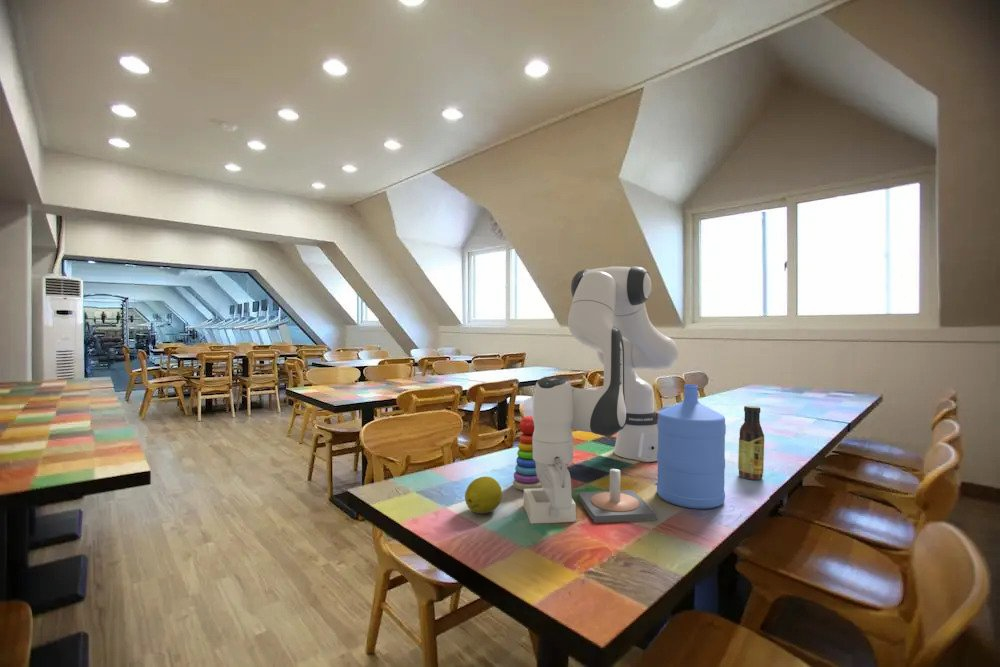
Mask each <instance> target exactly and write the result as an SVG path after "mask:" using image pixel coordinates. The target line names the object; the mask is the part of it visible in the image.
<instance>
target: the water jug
mask: <svg viewBox="0 0 1000 667" xmlns="http://www.w3.org/2000/svg"><path fill="white" fill-rule="evenodd" d="M683 386H684V392H683V394H684V399H683V401H682V402H678V403H677V404H674V405H672V406H669V407H666V408H663V409H662V410H659V412H657V413H658V423H657V427H658V451H657V461H656V462H657V483H656V493H657V495H658V496H659V497H660V498H661V499H663V500H664V501H665V502H668V503H670V504H673V505H675V506H678V507H683V508H688V509H695V510H704V509H705V510H707V509H715V508H717V507H721V505H722V504H724V502H725V499H726V492H725V469H726V458H725V457H726V455H725V453H726V451H725V450H726V448H725V446H726V428H727V426H726V425H727V424H726V417H725V415H724V414H722V413H720V412H718V411H716V410H714V409H711V408H710V407H709V406H706V405H704V404H702V403H700V402H699V400H698V399H699V391H698V388H699V385H697V384H696V385H695V384H684V385H683Z"/></svg>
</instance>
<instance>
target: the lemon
mask: <svg viewBox="0 0 1000 667" xmlns="http://www.w3.org/2000/svg"><path fill="white" fill-rule="evenodd" d="M502 493H503V492H502V487H501V484H500V483H499V482H498V481H497V480H496V479H495V478H493V477H492V476H491V477H490V476H480V477H478V478H475V479H474V480H473V481H471V482H470V483H469V484H468V486H467V488H466V490H465V493H464V500H465V503H466V506H467V508H468V509H470V511H472V512H474V513H475V514H480V515H481V514H483V515H485V514H488V513H489V514H490V513H491V512H493V511H494V510H496V508H497V507H498V506H499V505H500V503H501V501H502V496H503V495H502Z"/></svg>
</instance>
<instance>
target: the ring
mask: <svg viewBox="0 0 1000 667" xmlns="http://www.w3.org/2000/svg"><path fill="white" fill-rule="evenodd" d="M576 505H577V504H576V502H575V501H574V499H573V498H572V505H571V508H570V509H568V510H559V516H558V517H557V518H552V517H551V516H550V514H549V507H550V502H547V501H546V495H545V491H544V489H543V487H542V488H531V489H524V491H523V507H524V511H525V513H526V515H527V518H528V520H529V523H530V524H531V525H532V524H533V525H534V524H550V523H552V524H553V523H557V524H558V523H575V522H576V521H577V520H576V517H577V510H576V509H577V508H576V507H577V506H576Z"/></svg>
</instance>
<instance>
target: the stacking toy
mask: <svg viewBox="0 0 1000 667" xmlns="http://www.w3.org/2000/svg"><path fill="white" fill-rule="evenodd" d="M519 429H520V431H521V433H522V434H520V435H519V443H518V444H517V447H518V450H517V453H516V454H517V457H516V460H515V462H516V465H515V467H514V468H515V472H513V478H514V479H513V481H512V486H513V487H514V488H516V489H517V490H519V491H523V492H524V489H531V488H543V487H542V485H541V483H540V481H539V480H538V478H537V473H536V465H535V461H534V460H533V449H532V441H533V432H534V421H533V415H532V416H531V415H528V416H526V415H525V416H524V417H522V419H521V420H520V422H519Z"/></svg>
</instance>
